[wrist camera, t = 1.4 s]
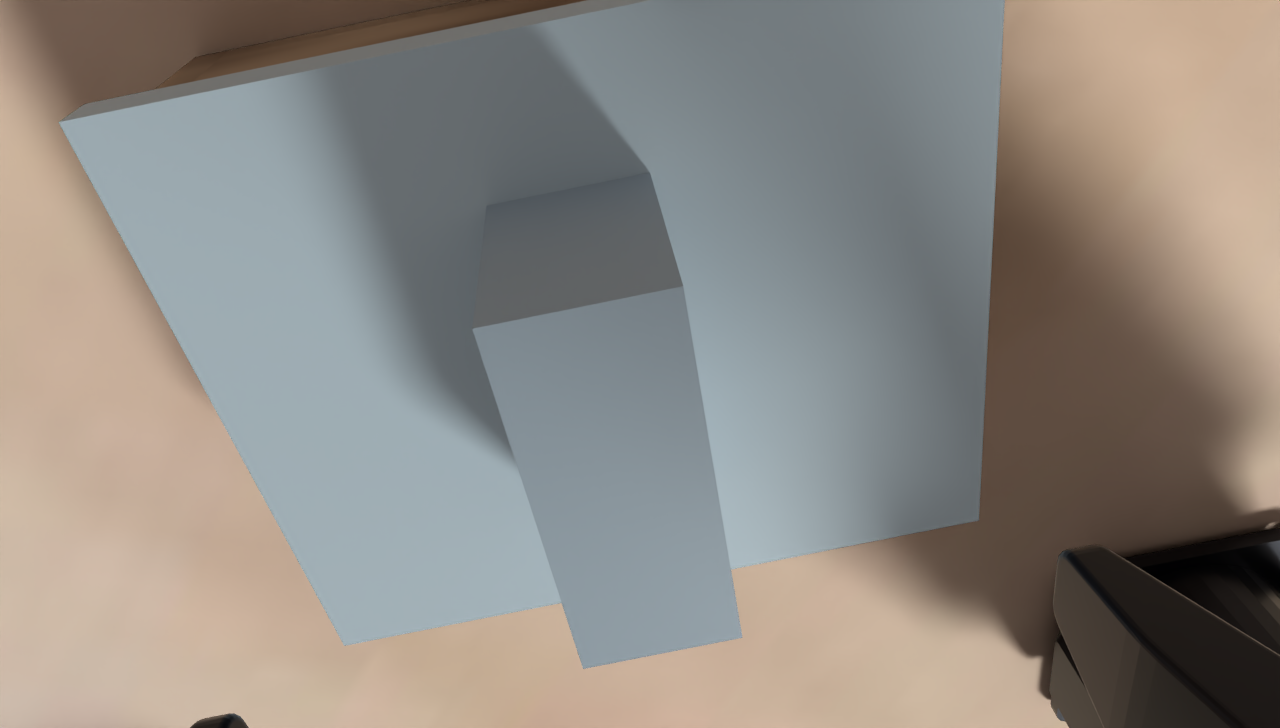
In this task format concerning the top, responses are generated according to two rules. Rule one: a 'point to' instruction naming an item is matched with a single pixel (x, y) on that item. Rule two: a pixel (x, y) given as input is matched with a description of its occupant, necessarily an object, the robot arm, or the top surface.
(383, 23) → the box
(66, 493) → the top surface
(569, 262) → the lid
